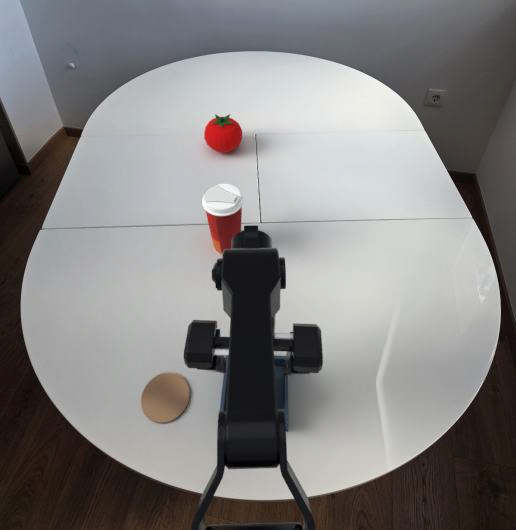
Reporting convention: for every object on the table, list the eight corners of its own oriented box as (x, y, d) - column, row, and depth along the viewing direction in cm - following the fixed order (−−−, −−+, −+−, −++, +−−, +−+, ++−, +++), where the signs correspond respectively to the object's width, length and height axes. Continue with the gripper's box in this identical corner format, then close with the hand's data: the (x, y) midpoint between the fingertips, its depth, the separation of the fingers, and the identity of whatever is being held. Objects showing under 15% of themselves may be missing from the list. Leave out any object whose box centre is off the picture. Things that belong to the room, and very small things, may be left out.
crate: (287, 431, 68) (288, 424, 66) (220, 428, 68) (218, 420, 66) (287, 364, 76) (288, 355, 73) (226, 362, 76) (225, 353, 74)
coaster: (185, 424, 69) (185, 423, 69) (136, 422, 69) (135, 421, 69) (193, 374, 75) (192, 373, 74) (147, 372, 75) (147, 371, 75)
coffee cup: (251, 235, 97) (249, 187, 87) (236, 263, 92) (233, 215, 81) (217, 225, 99) (211, 177, 89) (201, 252, 94) (193, 204, 84)
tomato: (217, 133, 125) (214, 103, 119) (249, 142, 122) (248, 112, 115) (198, 153, 119) (194, 124, 112) (232, 164, 115) (230, 134, 108)
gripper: (322, 268, 60) (313, 324, 71) (190, 264, 61) (201, 320, 72) (328, 344, 52) (317, 394, 63) (175, 338, 53) (190, 389, 64)
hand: (254, 371), depth 65 cm, fingers open, 9 cm apart
